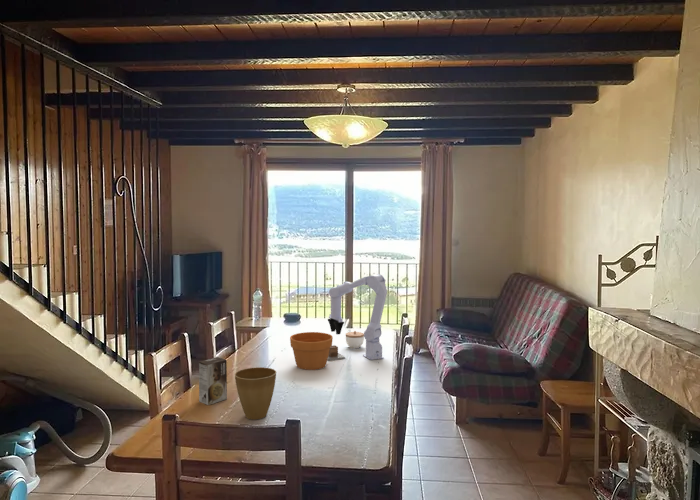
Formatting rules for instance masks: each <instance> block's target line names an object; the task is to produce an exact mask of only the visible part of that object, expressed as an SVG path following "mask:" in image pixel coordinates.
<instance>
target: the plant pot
mask: <svg viewBox="0 0 700 500" xmlns="http://www.w3.org/2000/svg"><path fill="white" fill-rule="evenodd" d="M234 379H235V385H236V389H237V395H238V399H239V402H240V405H241V407H242V410H243V412H244V416H245V418H246V419H248V420H261V419H263V418H266V417H267V414H268V412H269V409H270V406H271V402H272V399H273V395H274V391H275V386H276V379H277V370H275V369H274V368H271V367H270V368H269V367H259V366H258V367H257V366H256V367H248V368H244V369H243V368H242V369H240V370H238V371H236V372H235V373H234Z"/></svg>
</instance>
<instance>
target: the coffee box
mask: <svg viewBox="0 0 700 500" xmlns="http://www.w3.org/2000/svg"><path fill="white" fill-rule="evenodd" d="M227 363H228V362H227V359H224V358H222V357H220V356H216V357H213V358H208V359H204V360H200V361H198V402H199V403H202V404H204V405H206V406H210V405H213V404H216V403H219V402H221V401H225V400H227V399H228V372H227V370H228V368H227V367H228V366H227Z"/></svg>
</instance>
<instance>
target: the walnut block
mask: <svg viewBox="0 0 700 500" xmlns="http://www.w3.org/2000/svg"><path fill="white" fill-rule="evenodd" d="M338 353H339V347H338V346H337V345H335V344H334V345H333V344H332V346H331V347H330V350H329V355H328V356H330V357H337V356H338Z"/></svg>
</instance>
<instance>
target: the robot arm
mask: <svg viewBox="0 0 700 500" xmlns="http://www.w3.org/2000/svg"><path fill="white" fill-rule="evenodd" d="M362 285H364V286H368V288H370V289H371V290H372V291H373V292H374V293H375V294H376V295H375V299H374V304H373V307H372V311H371V315H370V316H371V317H370V321H369V323H368V325H367V327H366V329H365V331H364V332H363V333H364V340H365V353H364V354H362V356H363V357H364V358H367V359H368V360H371V361H372V360H378V359H379V360H380V359H381V360H382V359H384V357H383V346H382V344H381V342H380V337H382V336H381V335H382V325H381V320H382V316H383V312H384V307H385V303H386V298H387V294H388V290H387V289H388V288H387V285H386V279H385V277H384V276H383V275H382V274H381V273H380V274H379V273H376V274H373V275H372V274H370V275H367V276H363V277H361V278H359V279H357V280H354V281H352V282H351V281H344V282H343V283H341V284H336V286H333V287H331V288H330V289H329V291H328V294H329V296H330V314H329V316H328V318H327V321H328V323H329V328H330V332H331V333H332V332H335V334H336V335H341V332H342V329H343V326H344V324H345V321H343V318H342V297H343V295H346V294H349V293H352V292H353V291H354V289H355V288H358V287H361V286H362Z"/></svg>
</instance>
